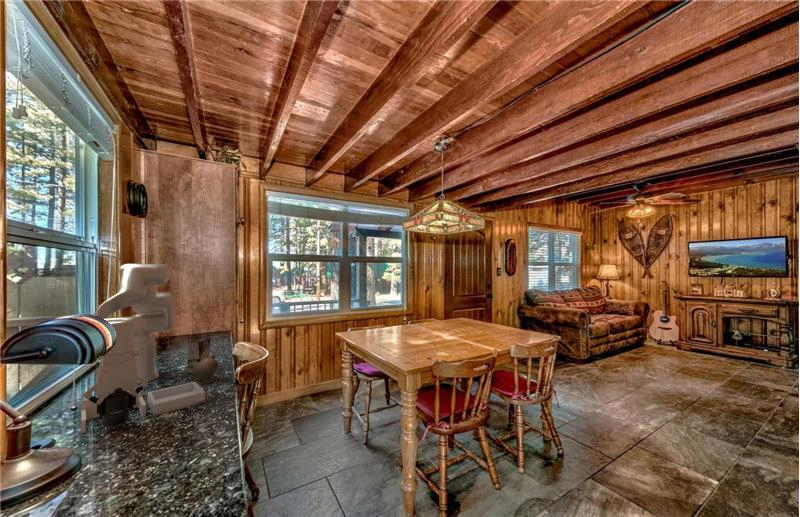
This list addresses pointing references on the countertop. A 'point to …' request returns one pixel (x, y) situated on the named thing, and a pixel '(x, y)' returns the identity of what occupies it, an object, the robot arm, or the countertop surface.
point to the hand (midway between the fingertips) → (116, 410)
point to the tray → (175, 398)
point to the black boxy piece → (116, 408)
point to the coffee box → (197, 351)
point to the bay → (91, 412)
